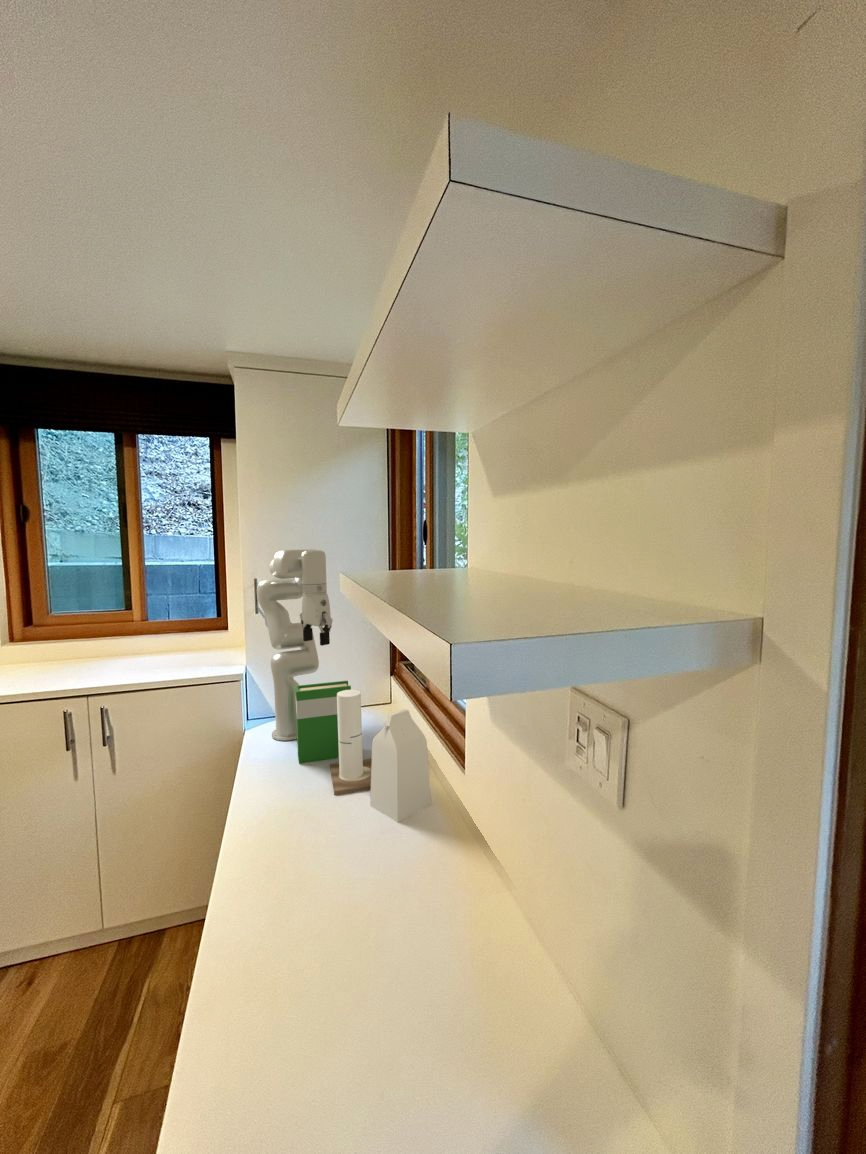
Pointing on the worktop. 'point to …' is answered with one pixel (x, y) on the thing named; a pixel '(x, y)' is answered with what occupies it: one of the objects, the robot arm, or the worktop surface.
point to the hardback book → (318, 720)
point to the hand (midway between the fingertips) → (316, 642)
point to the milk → (399, 768)
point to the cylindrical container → (350, 734)
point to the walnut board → (353, 784)
